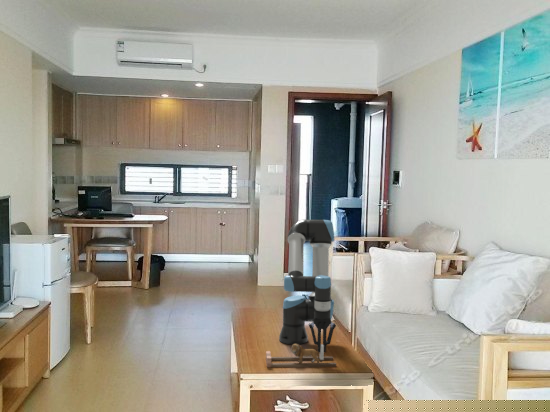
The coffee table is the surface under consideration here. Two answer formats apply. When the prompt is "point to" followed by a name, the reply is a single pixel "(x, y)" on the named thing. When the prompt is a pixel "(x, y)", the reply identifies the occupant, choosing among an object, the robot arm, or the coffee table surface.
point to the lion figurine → (304, 353)
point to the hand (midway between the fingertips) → (321, 358)
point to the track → (269, 364)
